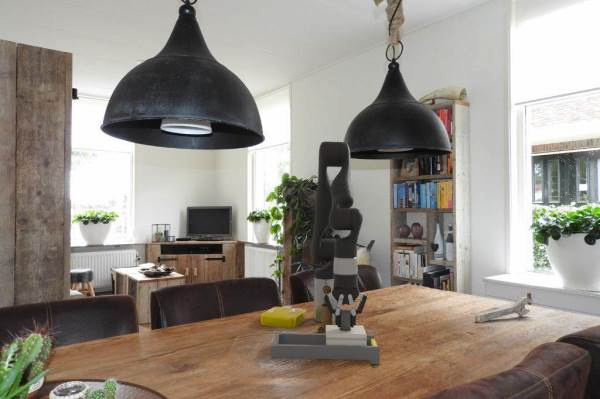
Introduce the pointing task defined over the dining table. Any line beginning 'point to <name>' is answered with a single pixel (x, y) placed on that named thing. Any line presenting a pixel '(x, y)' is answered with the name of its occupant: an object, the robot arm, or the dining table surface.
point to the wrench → (506, 310)
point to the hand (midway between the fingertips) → (345, 326)
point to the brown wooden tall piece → (325, 313)
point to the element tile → (283, 317)
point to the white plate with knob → (345, 332)
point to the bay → (322, 348)
